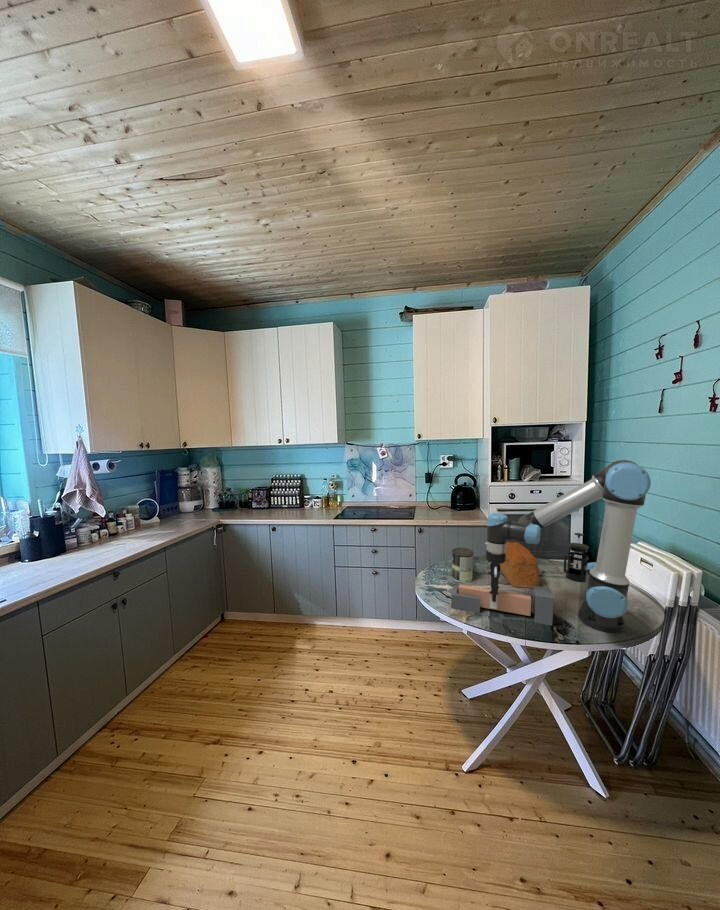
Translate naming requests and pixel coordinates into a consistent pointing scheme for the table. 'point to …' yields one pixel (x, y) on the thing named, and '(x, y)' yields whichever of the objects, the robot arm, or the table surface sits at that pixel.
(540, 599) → the cap
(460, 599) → the far end cap
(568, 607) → the table surface
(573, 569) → the french press
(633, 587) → the table surface
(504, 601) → the slat
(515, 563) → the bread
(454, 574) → the coffee can
